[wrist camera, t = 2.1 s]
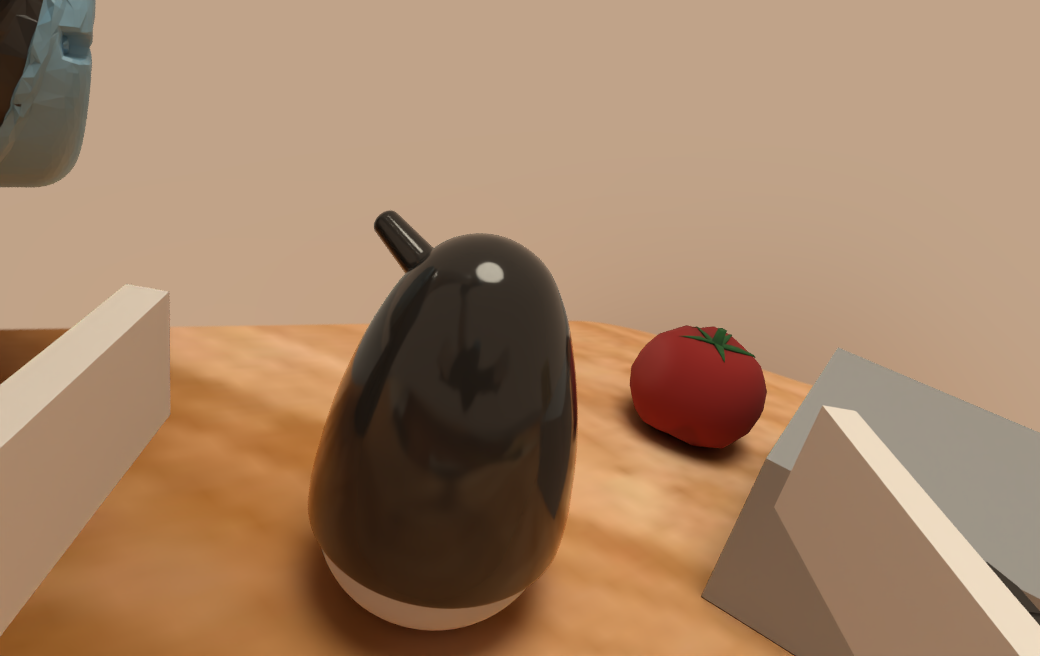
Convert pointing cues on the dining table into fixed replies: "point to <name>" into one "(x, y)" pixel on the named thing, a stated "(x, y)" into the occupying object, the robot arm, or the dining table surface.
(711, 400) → the tomato
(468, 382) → the pump dispenser
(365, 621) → the dining table surface
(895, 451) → the slate block
